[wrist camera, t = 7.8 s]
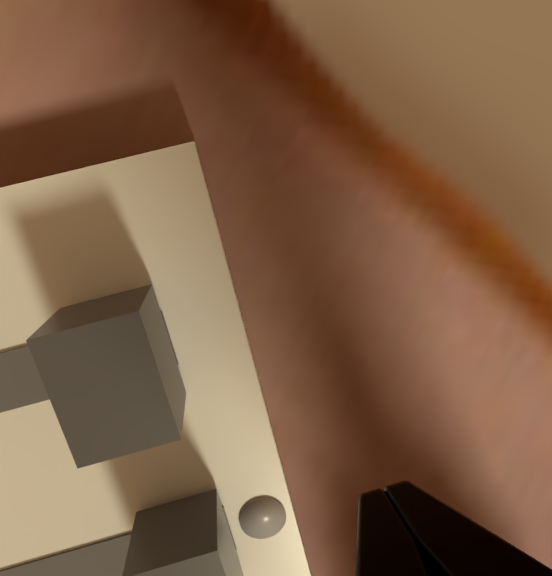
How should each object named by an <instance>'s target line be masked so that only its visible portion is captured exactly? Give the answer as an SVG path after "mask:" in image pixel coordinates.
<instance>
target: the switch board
mask: <svg viewBox="0 0 552 576" xmlns="http://www.w3.org/2000/svg"><path fill="white" fill-rule="evenodd" d="M151 284H152V286H153V289H154V292H155V295H156V298H157V301H158V305H159V308H160V311H161V314H162V317H163V320H164V324H165V327H166V330H167V333H168V336H169V339H170V343H171V346H172V349H173V352H174V355H175V359H176V362H177V365H178V368H179V371H180V374H181V378H182V381H183V384H184V387H185V390H186V401H185V410H184V419H183V428H182V437H181V440H178V441H175V442H171V443H168V444H164V445H161V446H157V447H153V448H150V449H146V450H143V451H139V452H136V453H132V454H128V455H125V456H121V457H118V458H114V459H111V460H107V461H103V462H100V463H96V464H93V465H89V466H85V467H82V468H78V469H77V466H76V464H75V461H74V459H73V456H72V454H71V451H70V449H69V446H68V444H67V441H66V439H65V436H64V434H63V431H62V429H61V426H60V424H59V421H58V419H57V416H56V414H55V411H54V409H53V406H52V404H51V401H50V399H49V396H48V394H47V391H46V389H45V387H44V384H43V382H42V379H41V377H40V374H39V372H38V369H37V367H36V364H35V362H34V359H33V357H32V354H31V352H30V349H29V347H28V344H27V342H26V340H27V339H28V338H29V337H30V336H31V335H32V334H33V333H34V332H35V331H36V330H37V329H38V328H39V327H41V326H42V325H43V324H44V323H45V322H46V321H47V320H48V319H49V318H50V317H51V316H52V315H53V314H54V313H55V312H56V311H57V310H59V309H60V308H62V307H66V306H70V305H74V304H78V303H81V302H85V301H89V300H93V299H97V298H101V297H105V296H109V295H112V294H116V293H120V292H124V291H128V290H132V289H136V288H140V287H143V286H147V285H151ZM214 489H217V492H218V495H219V498H220V501H221V504H222V508H223V511H224V514H225V517H226V520H227V523H228V527H229V530H230V533H231V536H232V539H233V542H234V546H235V549H236V552H237V555H238V558H239V561H240V565H241V568H242V571H243V575H244V576H312V575H311V571H310V567H309V563H308V560H307V556H306V552H305V548H304V545H303V541H302V537H301V534H300V530H299V526H298V522H297V519H296V515H295V511H294V507H293V504H292V500H291V496H290V493H289V489H288V485H287V481H286V478H285V474H284V470H283V466H282V463H281V459H280V455H279V452H278V448H277V444H276V440H275V437H274V433H273V429H272V425H271V422H270V418H269V414H268V411H267V407H266V403H265V399H264V396H263V392H262V388H261V384H260V381H259V377H258V373H257V369H256V366H255V362H254V358H253V355H252V351H251V347H250V343H249V340H248V336H247V332H246V328H245V325H244V321H243V317H242V314H241V310H240V306H239V302H238V299H237V295H236V291H235V287H234V284H233V280H232V276H231V273H230V269H229V265H228V261H227V258H226V254H225V250H224V246H223V243H222V239H221V235H220V232H219V228H218V224H217V220H216V217H215V213H214V209H213V205H212V202H211V198H210V194H209V191H208V187H207V183H206V179H205V176H204V172H203V168H202V164H201V161H200V157H199V153H198V150H197V146H196V143H195V142H194V141H192V142H188V143H184V144H180V145H176V146H171V147H167V148H163V149H159V150H155V151H151V152H147V153H142V154H138V155H134V156H130V157H126V158H122V159H117V160H113V161H109V162H105V163H101V164H97V165H92V166H88V167H84V168H80V169H76V170H72V171H68V172H63V173H59V174H55V175H51V176H47V177H43V178H38V179H34V180H30V181H26V182H22V183H18V184H14V185H9V186H5V187H1V188H0V576H122V575H123V570H124V566H125V561H126V557H127V552H128V547H129V543H130V538H131V534H132V529H133V524H134V520H135V515H136V512H137V511H141V510H144V509H148V508H151V507H155V506H158V505H162V504H165V503H169V502H172V501H176V500H179V499H182V498H186V497H189V496H193V495H196V494H200V493H203V492H207V491H210V490H214Z"/></svg>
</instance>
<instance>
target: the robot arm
mask: <svg viewBox="0 0 552 576" xmlns="http://www.w3.org/2000/svg"><path fill="white" fill-rule="evenodd" d="M356 576H552V569H550V568H549V567H547V566H545V565H544V564H542V563H540V562H539V561H537V560H536V559H534V558H532V557H531V556H529V555H527V554H526V553H524V552H523V551H521V550H519V549H518V548H516V547H515V546H513V545H511V544H510V543H508V542H506V541H505V540H503V539H502V538H500V537H498V536H497V535H495V534H493V533H492V532H490V531H489V530H487V529H485V528H484V527H482V526H480V525H479V524H477V523H476V522H474V521H472V520H471V519H469V518H467V517H466V516H464V515H463V514H461V513H459V512H458V511H456V510H455V509H453V508H451V507H450V506H448V505H446V504H445V503H443V502H442V501H440V500H438V499H437V498H435V497H433V496H432V495H430V494H429V493H427V492H425V491H424V490H422V489H420V488H419V487H417V486H416V485H414V484H412V483H411V482H409V481H401V482H398V483H395V484H392V485H388V486H386V487H385V488H384V490H382V489H375V490H372V491H369V492H366V493H363V494H361V495H360V496H359V501H358V529H357V556H356Z"/></svg>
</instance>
